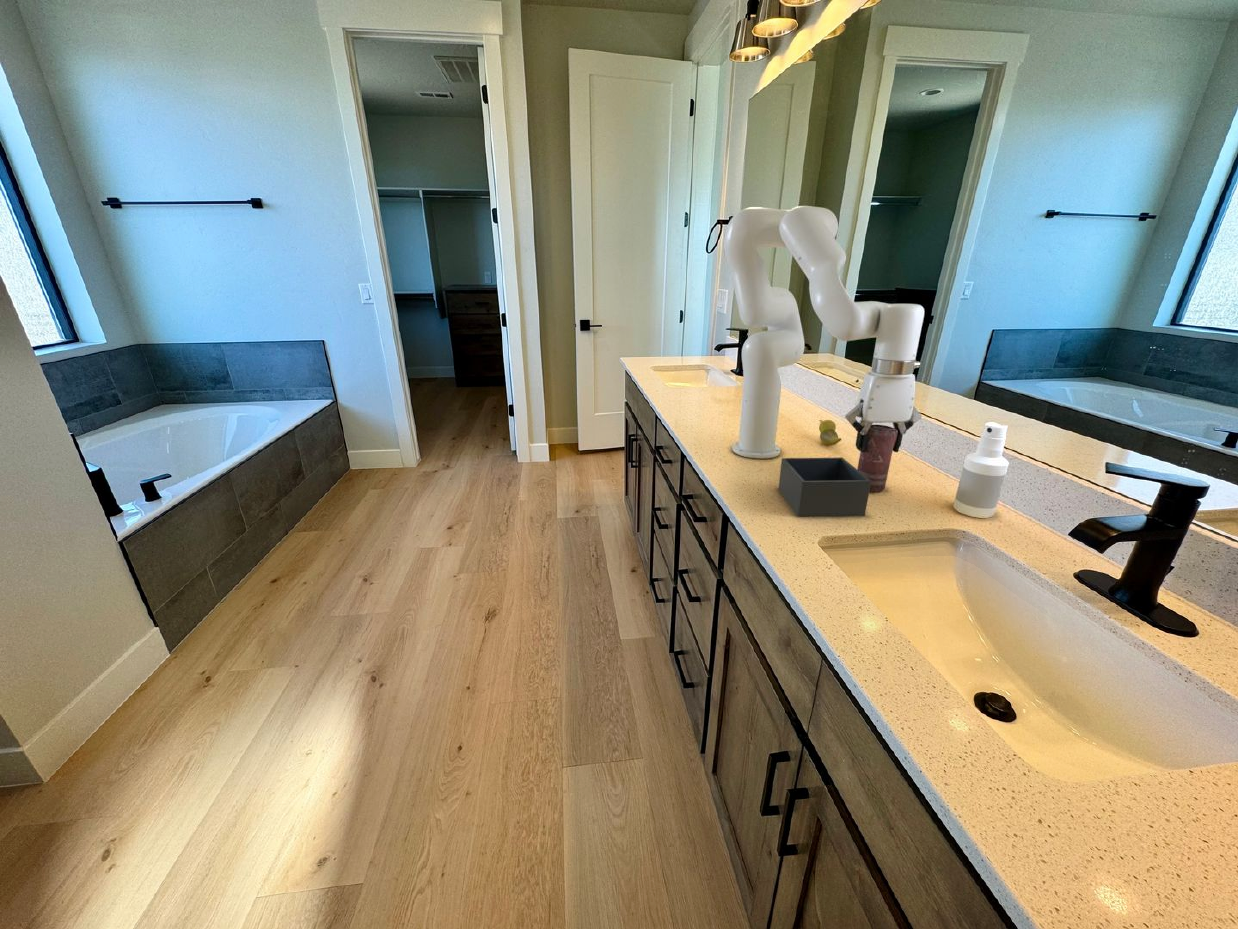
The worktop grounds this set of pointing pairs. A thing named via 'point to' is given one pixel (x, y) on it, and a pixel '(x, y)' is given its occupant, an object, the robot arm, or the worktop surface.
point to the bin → (823, 487)
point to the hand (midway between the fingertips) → (877, 449)
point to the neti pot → (828, 432)
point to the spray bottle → (983, 474)
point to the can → (877, 456)
